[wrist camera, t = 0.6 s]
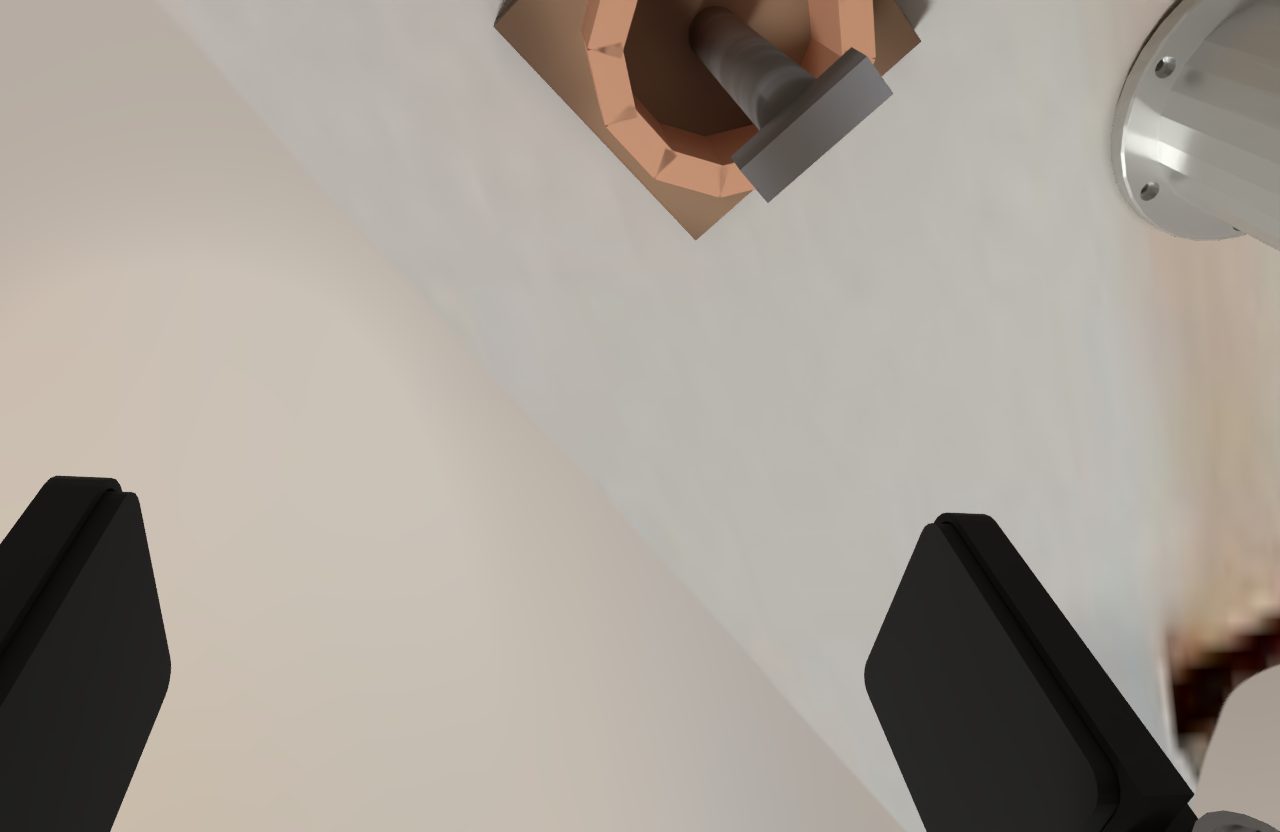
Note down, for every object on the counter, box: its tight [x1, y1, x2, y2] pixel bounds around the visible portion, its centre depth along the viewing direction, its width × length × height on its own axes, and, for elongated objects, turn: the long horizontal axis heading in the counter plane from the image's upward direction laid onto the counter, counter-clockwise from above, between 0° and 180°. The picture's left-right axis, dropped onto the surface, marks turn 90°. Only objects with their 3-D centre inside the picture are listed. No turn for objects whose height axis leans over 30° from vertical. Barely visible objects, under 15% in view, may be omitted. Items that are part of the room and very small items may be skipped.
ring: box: [582, 0, 876, 197], centre depth 31 cm, size 10×14×4 cm
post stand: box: [494, 0, 921, 240], centre depth 28 cm, size 12×12×15 cm
